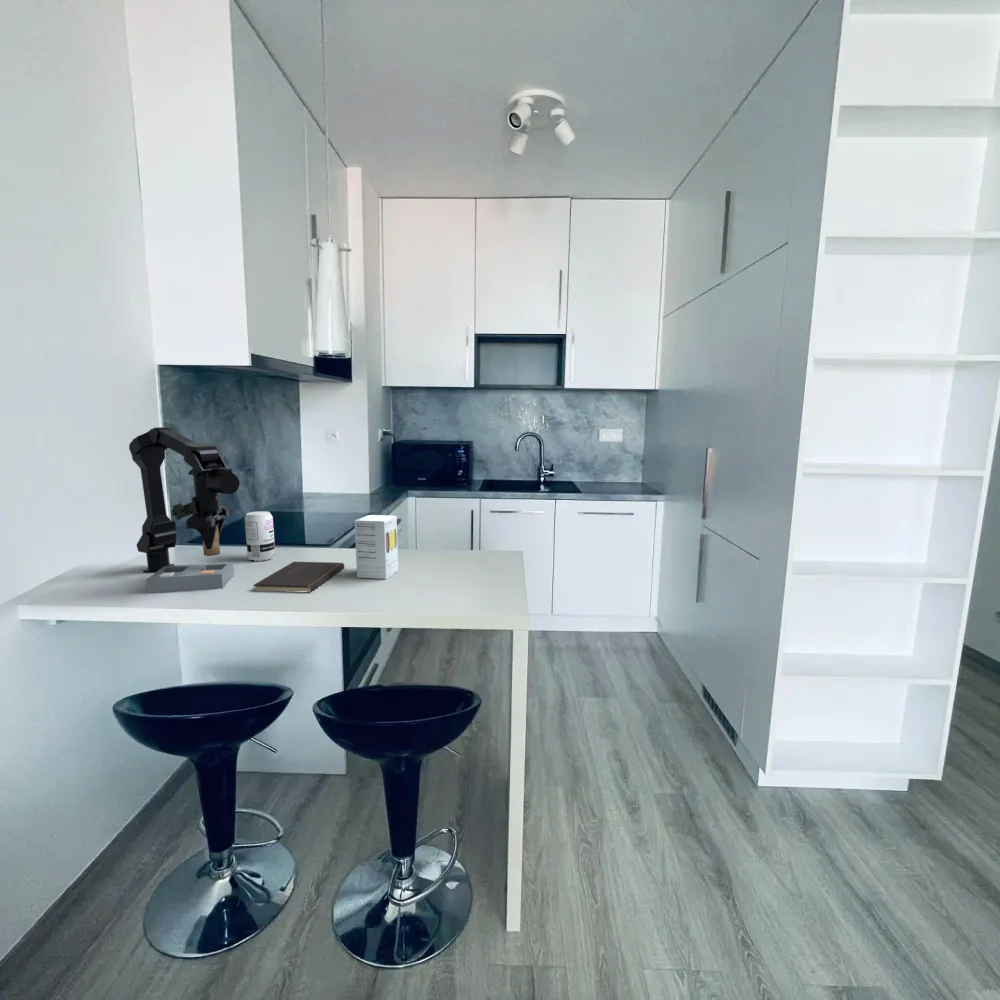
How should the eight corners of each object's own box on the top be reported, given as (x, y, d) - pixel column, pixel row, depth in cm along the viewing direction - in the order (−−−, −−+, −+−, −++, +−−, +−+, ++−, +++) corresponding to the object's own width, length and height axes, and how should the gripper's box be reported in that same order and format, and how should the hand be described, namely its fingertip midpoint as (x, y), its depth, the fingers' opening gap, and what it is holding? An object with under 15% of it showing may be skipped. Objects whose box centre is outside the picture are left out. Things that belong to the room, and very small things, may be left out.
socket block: (166, 579, 156) (164, 565, 155) (234, 575, 159) (233, 561, 159) (148, 593, 144) (147, 577, 144) (222, 588, 148) (221, 572, 147)
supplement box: (386, 579, 155) (384, 521, 152) (356, 578, 157) (353, 520, 154) (399, 570, 164) (397, 515, 161) (370, 568, 166) (368, 514, 163)
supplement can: (248, 556, 180) (245, 511, 178) (275, 554, 183) (272, 510, 180) (247, 563, 173) (243, 516, 170) (275, 560, 175) (271, 514, 173)
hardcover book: (253, 593, 145) (253, 584, 145) (294, 568, 168) (293, 561, 168) (311, 595, 144) (311, 586, 144) (344, 570, 167) (344, 562, 166)
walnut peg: (206, 552, 155) (204, 524, 153) (221, 551, 155) (219, 524, 154) (201, 556, 151) (199, 527, 149) (217, 555, 152) (215, 527, 150)
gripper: (185, 487, 158) (191, 540, 160) (160, 498, 140) (167, 557, 142) (227, 486, 160) (232, 538, 162) (208, 496, 142) (213, 554, 144)
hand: (211, 547), depth 153 cm, fingers closed on walnut peg, 4 cm apart
